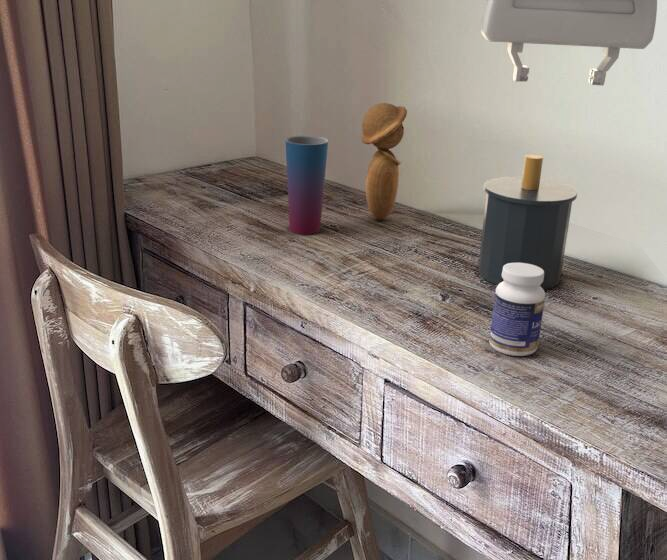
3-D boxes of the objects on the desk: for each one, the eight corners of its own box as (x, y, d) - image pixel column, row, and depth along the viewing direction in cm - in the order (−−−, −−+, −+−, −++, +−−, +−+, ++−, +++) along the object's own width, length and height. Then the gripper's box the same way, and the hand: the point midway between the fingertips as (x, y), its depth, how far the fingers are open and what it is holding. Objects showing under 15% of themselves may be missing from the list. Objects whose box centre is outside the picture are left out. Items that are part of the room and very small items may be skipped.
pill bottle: (539, 360, 94) (551, 280, 90) (489, 355, 94) (498, 275, 91) (535, 338, 99) (546, 262, 95) (488, 334, 100) (497, 258, 96)
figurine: (406, 226, 138) (414, 108, 130) (365, 228, 136) (371, 108, 129) (390, 210, 146) (397, 98, 139) (351, 212, 144) (357, 98, 137)
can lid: (584, 212, 108) (591, 170, 106) (487, 207, 109) (492, 165, 107) (566, 186, 120) (571, 148, 118) (478, 182, 121) (482, 144, 118)
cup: (321, 223, 138) (324, 135, 132) (328, 236, 132) (331, 144, 126) (281, 223, 137) (283, 135, 131) (286, 236, 131) (288, 144, 125)
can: (566, 292, 113) (580, 206, 108) (482, 287, 114) (492, 201, 109) (551, 263, 124) (563, 183, 119) (475, 258, 124) (483, 179, 120)
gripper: (493, -42, 91) (478, 83, 97) (672, -32, 92) (647, 91, 98) (483, -43, 97) (469, 74, 103) (651, -35, 98) (629, 82, 103)
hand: (557, 82), depth 100 cm, fingers open, 8 cm apart
